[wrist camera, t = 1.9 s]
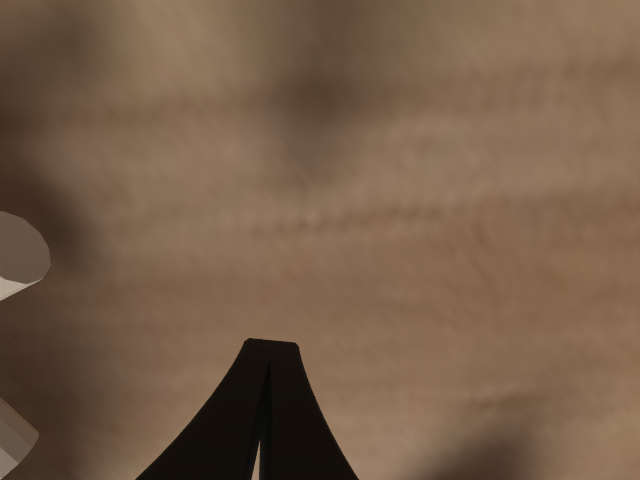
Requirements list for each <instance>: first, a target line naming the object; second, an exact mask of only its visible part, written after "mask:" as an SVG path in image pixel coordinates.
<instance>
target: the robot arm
mask: <svg viewBox="0 0 640 480" xmlns="http://www.w3.org/2000/svg"><path fill="white" fill-rule="evenodd" d="M259 442H260V465H259V480H359V479H358V478H357V476H356V474H355V473H354V471H353V470H352V468H351V466H350V465H349V463H348V461H347V460H346V458H345V456H344V455H343V453H342V451H341V449H340V448H339V446H338V444H337V442H336V440H335V438H334V437H333V435H332V433H331V431H330V429H329V427H328V425H327V423H326V421H325V419H324V416H323V414H322V412H321V410H320V408H319V405H318V403H317V401H316V398H315V396H314V394H313V391H312V389H311V386H310V384H309V381H308V378H307V375H306V372H305V369H304V366H303V363H302V359H301V355H300V351H299V346H298V345H297V344H296V343H293V342H283V341H273V340H263V339H253V338H249V339H247V340H246V341H244V344H243V346H242V348H241V350H240V352H239V354H238V356H237V358H236V359H235V361H234V363H233V364H232V366H231V368H230V369H229V371H228V372H227V374H226V375H225V377H224V378H223V380H222V381H221V383H220V384H219V385H218V387H217V388H216V390H215V391H214V393H213V394H212V395H211V397H210V398H209V399H208V400H207V402H206V403H205V404H204V405H203V407H202V408H201V409H200V410H199V412H198V413H197V414H196V415H195V417H194V418H193V419H192V420H191V422H190V423H189V424H188V425H187V426H186V427H185V429H184V430H183V431H182V432H181V433H180V434H179V435H178V437H177V438H176V439H175V440H174V441H173V442H172V443H171V444H170V445H169V446H168V447H167V448H166V449H165V450H164V452H163V453H162V454H161V455H160V456H159V457H158V458H157V459H156V460H155V461H154V462H153V463H152V464H151V465H150V466H149V467H148V468H147V469H146V470H144V471H143V472H142V473H141V474H140V475H139V476H138V477H137V478H136V479H135V480H251V479H252V474H253V470H254V465H255V460H256V456H257V451H258V446H259Z"/></svg>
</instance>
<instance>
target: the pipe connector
mask: <svg viewBox="0 0 640 480" xmlns="http://www.w3.org/2000/svg"><path fill="white" fill-rule="evenodd" d="M50 266H51V262H50V250H49V248H48V246H47V244H46V243H45V241H44V239H43V237H42V236H41V234H40V232H39V231H37V230H36V229H35V228H34V227H33V226H31V225H30V224H29V223H28V222H27V221H26V220H24V219H23V218H20V217H18V216H15V215H12V214H10V213H7V212H4V211H0V301H1V300H3V299H5V298H7V297H9V296H11V295H13V294H15V293H16V292H18V291H20V290H22V289H24V288H26V287H28V286H30V285H32V284H34V283H36V282H38V281H40V280H42V279H43V278H44V276H45V275H46V273H47V271H48V270H49V268H50ZM38 437H39V434H38V431H37V430H36V429H35V428H34V427H33V426H32V425H30V424H29V423H28V422H27V421H26V420H25V419H24V418H23V417H22V416H21V415H19V414H18V413H17V412H16V411H15V410H14V409H13V408H12V407H11V406H10V405H9V404H7V403H6V402H5V401H4V400H3V399H2V398H1V397H0V479H2V478H3V477H4V476H5V475H7V474H8V473H9V472H10V471H11V470H12V469H13V468H15V467H16V466H17V465H18V464H19V463H20V462H21V461H22V460H23V459H24V457H25V456H26V455H27V454H28V453H29V452H30V451H31V449H32V448H33V447H34V445H35V443H36V441H37V439H38Z"/></svg>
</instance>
